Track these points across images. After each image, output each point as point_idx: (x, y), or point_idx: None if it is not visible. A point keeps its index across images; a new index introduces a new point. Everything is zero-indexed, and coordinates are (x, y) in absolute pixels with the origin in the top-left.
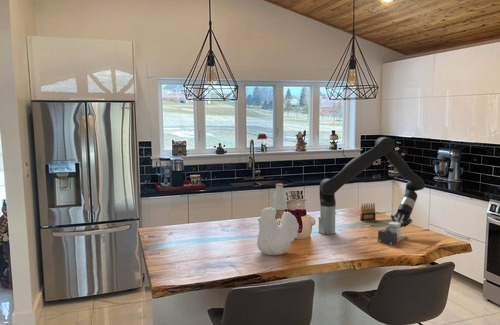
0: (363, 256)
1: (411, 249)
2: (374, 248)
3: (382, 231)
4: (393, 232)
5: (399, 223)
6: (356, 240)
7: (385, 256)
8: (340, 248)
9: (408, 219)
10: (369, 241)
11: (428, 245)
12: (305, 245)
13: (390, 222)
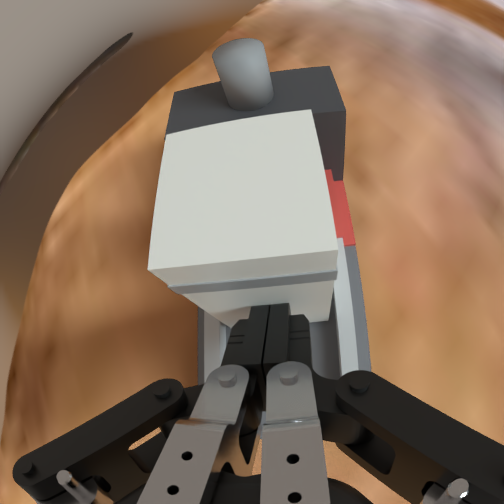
0: (258, 23)
1: (109, 228)
2: None
3: (291, 75)
4: (195, 119)
5: (156, 234)
6: (457, 120)
7: (189, 66)
8: (382, 23)
9: (55, 473)
10: (406, 153)
11: (56, 392)
12: (457, 7)
13: (314, 166)
